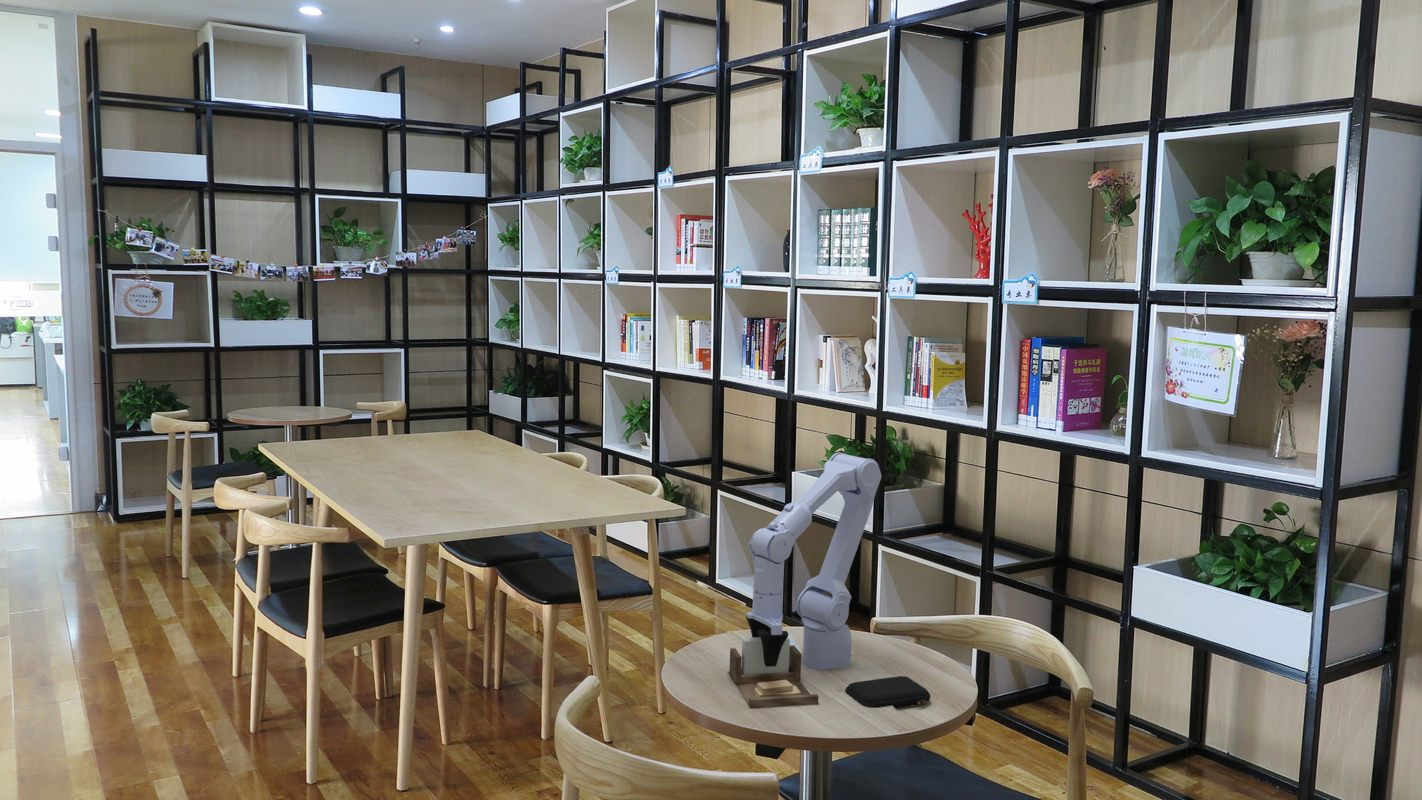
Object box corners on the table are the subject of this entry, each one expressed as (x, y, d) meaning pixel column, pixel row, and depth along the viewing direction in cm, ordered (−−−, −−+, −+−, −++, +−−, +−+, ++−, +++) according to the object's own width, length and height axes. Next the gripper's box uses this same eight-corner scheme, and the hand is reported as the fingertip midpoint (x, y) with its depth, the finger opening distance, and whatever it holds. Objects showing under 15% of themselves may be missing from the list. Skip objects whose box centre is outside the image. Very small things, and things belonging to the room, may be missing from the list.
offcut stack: (795, 691, 203) (795, 679, 202) (801, 699, 199) (801, 686, 199) (754, 693, 201) (754, 681, 201) (759, 701, 197) (760, 689, 197)
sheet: (785, 675, 211) (786, 636, 210) (788, 679, 209) (789, 639, 208) (741, 677, 209) (742, 638, 208) (743, 681, 207) (745, 641, 206)
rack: (789, 673, 215) (791, 641, 214) (818, 709, 197) (819, 675, 196) (726, 676, 212) (727, 644, 211) (749, 713, 194) (751, 679, 194)
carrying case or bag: (869, 718, 195) (937, 708, 200) (870, 702, 194) (938, 692, 200) (840, 696, 205) (906, 687, 210) (841, 681, 204) (907, 672, 210)
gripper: (738, 580, 213) (736, 646, 214) (757, 602, 199) (754, 673, 200) (772, 579, 214) (770, 645, 216) (794, 601, 200) (791, 671, 202)
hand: (765, 658), depth 208 cm, fingers open, 7 cm apart
